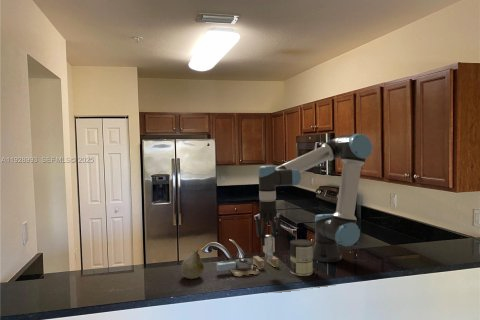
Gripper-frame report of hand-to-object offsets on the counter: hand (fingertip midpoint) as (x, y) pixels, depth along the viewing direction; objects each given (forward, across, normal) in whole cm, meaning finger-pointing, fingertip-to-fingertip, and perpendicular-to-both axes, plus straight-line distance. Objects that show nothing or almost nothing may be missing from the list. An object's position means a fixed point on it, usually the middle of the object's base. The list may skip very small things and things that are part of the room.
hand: (268, 251), depth 159 cm
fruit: (+10, +34, -8) cm, 36 cm away
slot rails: (+10, -3, -12) cm, 16 cm away
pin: (+3, 0, 0) cm, 3 cm away
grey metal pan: (+8, +14, -8) cm, 18 cm away
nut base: (+10, +10, -8) cm, 16 cm away
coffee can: (+11, -15, +2) cm, 19 cm away
